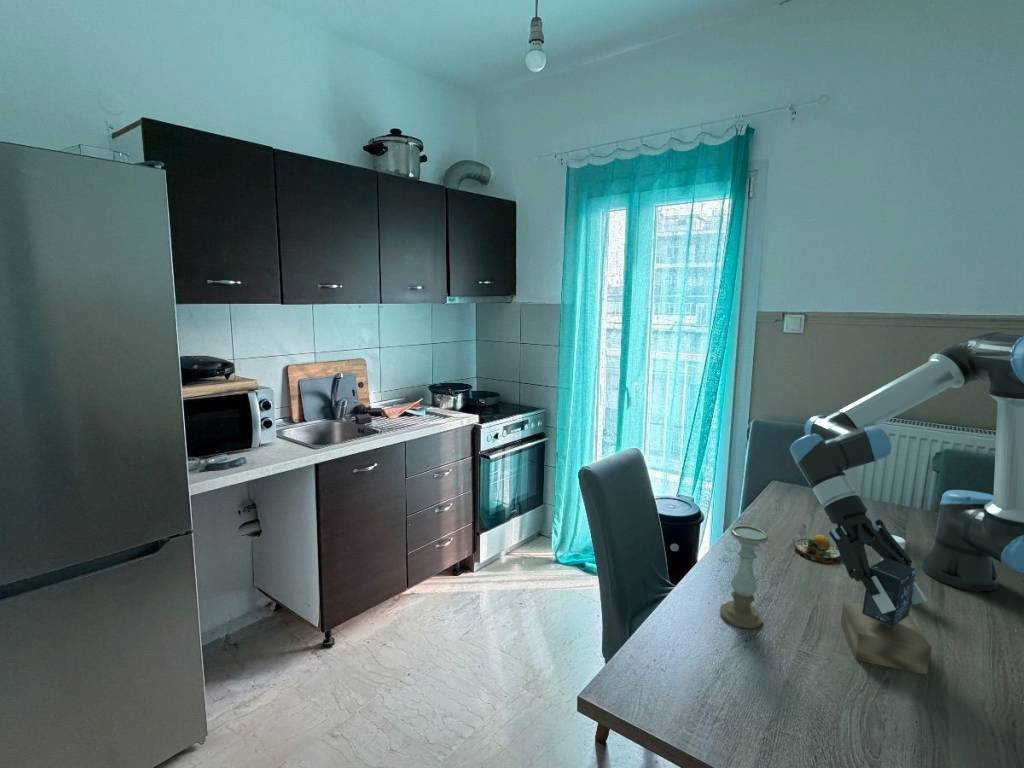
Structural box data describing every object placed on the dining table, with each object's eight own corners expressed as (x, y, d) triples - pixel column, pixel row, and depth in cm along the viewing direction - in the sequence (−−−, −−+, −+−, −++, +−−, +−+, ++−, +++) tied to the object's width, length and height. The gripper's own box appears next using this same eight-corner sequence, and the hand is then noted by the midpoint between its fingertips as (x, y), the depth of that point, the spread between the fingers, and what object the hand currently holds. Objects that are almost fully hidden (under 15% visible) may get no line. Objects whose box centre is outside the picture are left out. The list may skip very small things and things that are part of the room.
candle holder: (759, 610, 122) (768, 527, 119) (764, 632, 114) (774, 544, 111) (719, 602, 125) (726, 521, 122) (720, 623, 117) (728, 537, 114)
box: (892, 628, 105) (900, 578, 103) (861, 614, 109) (868, 566, 107) (909, 616, 109) (917, 568, 107) (878, 602, 113) (885, 556, 112)
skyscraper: (861, 528, 169) (873, 442, 165) (836, 527, 169) (847, 441, 165) (845, 517, 178) (856, 435, 173) (821, 516, 178) (831, 434, 173)
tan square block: (904, 638, 114) (908, 613, 113) (926, 675, 103) (931, 647, 102) (840, 626, 118) (843, 601, 117) (855, 660, 106) (859, 633, 106)
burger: (828, 545, 157) (831, 521, 156) (849, 565, 145) (853, 540, 144) (786, 543, 158) (788, 519, 157) (803, 562, 146) (806, 537, 145)
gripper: (860, 502, 124) (923, 602, 112) (792, 513, 116) (852, 622, 104) (886, 488, 118) (956, 592, 106) (816, 499, 111) (883, 612, 99)
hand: (904, 607), depth 105 cm, fingers closed on box, 9 cm apart
